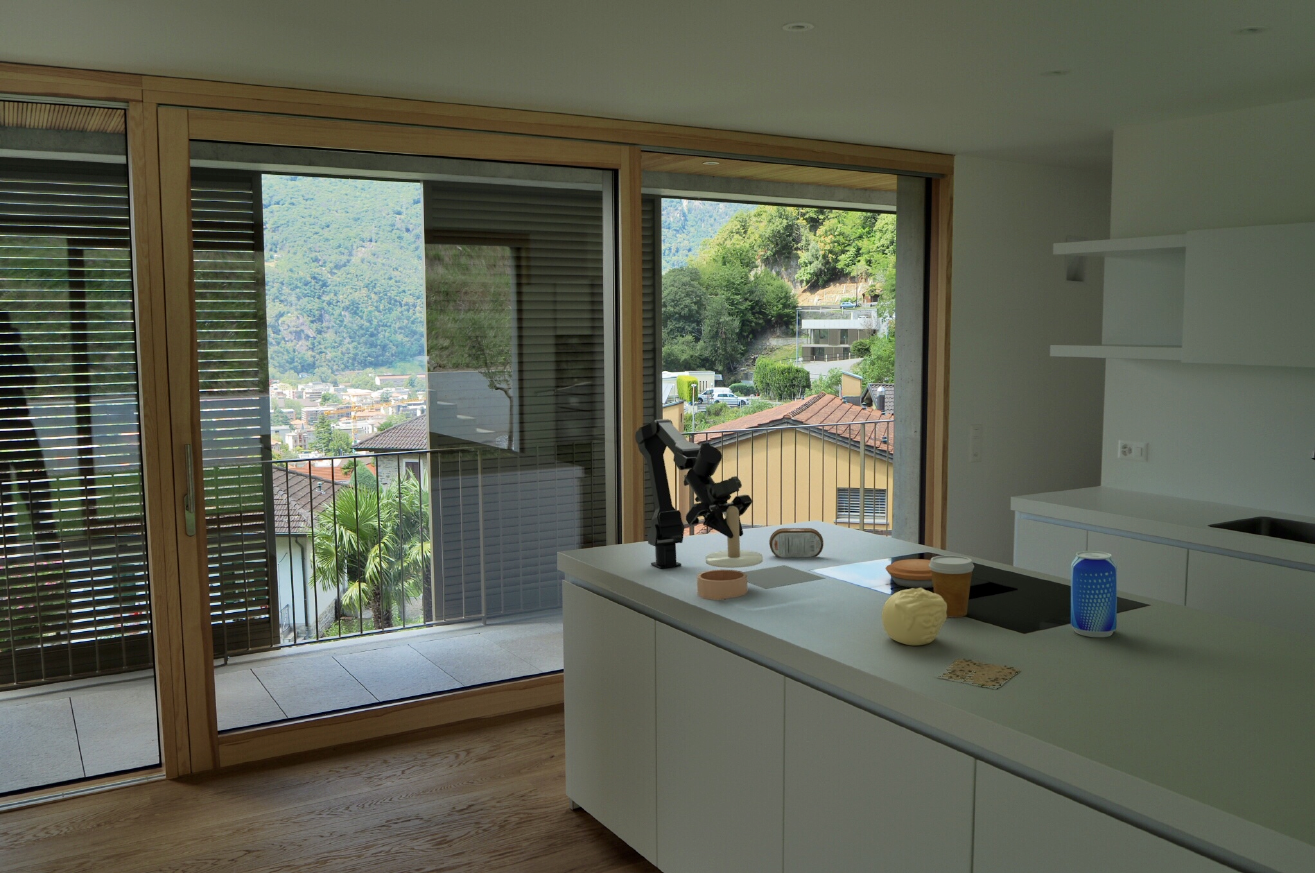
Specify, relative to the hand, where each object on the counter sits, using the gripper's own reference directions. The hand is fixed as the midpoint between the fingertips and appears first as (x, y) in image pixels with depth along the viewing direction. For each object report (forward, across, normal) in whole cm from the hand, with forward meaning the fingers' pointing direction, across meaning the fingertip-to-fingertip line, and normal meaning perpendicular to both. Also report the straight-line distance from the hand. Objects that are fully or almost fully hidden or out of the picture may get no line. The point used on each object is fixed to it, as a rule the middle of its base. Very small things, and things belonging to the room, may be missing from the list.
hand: (737, 536), depth 240 cm
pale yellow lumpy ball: (+48, -5, -28) cm, 56 cm away
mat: (+8, +15, +11) cm, 21 cm away
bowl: (+9, -4, +11) cm, 14 cm away
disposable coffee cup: (+44, +17, -25) cm, 53 cm away
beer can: (+64, +24, -45) cm, 82 cm away
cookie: (+62, -13, -42) cm, 76 cm away
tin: (0, +36, +19) cm, 41 cm away
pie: (+29, +35, -9) cm, 47 cm away
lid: (+4, 0, +6) cm, 7 cm away
